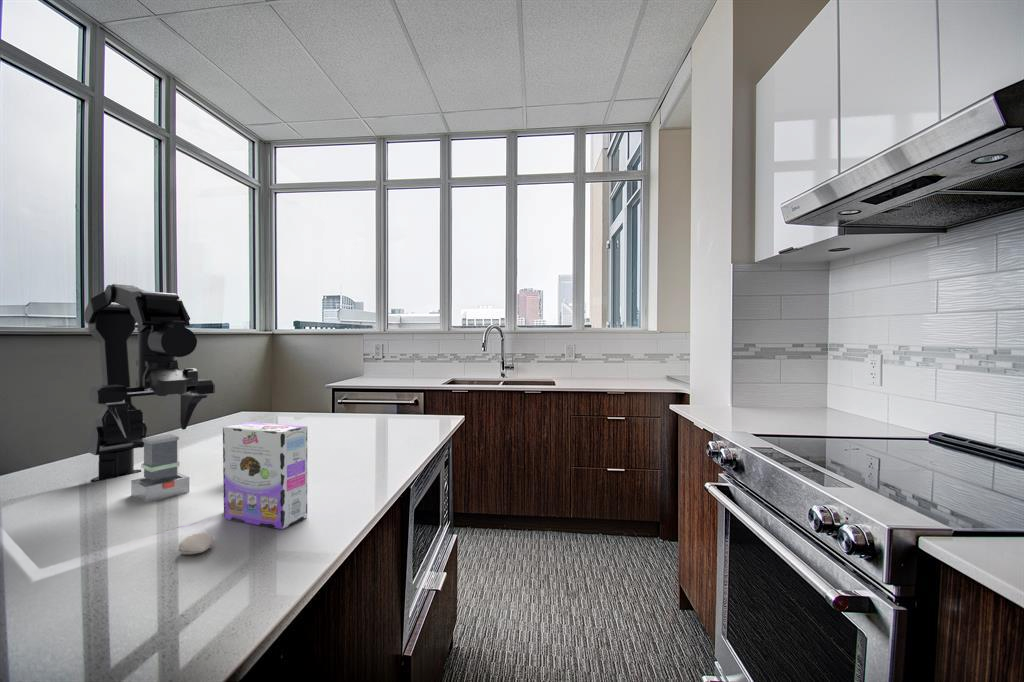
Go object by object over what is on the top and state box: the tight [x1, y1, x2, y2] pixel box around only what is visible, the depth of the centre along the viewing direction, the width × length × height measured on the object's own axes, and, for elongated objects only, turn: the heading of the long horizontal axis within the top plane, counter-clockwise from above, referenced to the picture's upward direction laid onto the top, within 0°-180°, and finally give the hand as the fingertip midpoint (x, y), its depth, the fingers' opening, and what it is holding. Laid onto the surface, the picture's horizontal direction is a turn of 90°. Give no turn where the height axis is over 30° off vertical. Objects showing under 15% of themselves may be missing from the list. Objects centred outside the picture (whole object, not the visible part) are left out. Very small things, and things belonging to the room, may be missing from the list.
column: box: [140, 433, 181, 481], centre depth 85 cm, size 5×5×8 cm
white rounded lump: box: [178, 532, 215, 556], centre depth 64 cm, size 4×5×2 cm
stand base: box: [130, 471, 190, 504], centre depth 85 cm, size 12×12×4 cm
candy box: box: [222, 421, 308, 530], centre depth 77 cm, size 14×6×16 cm, turn 71°
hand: (156, 433), depth 87 cm, fingers open, 9 cm apart
